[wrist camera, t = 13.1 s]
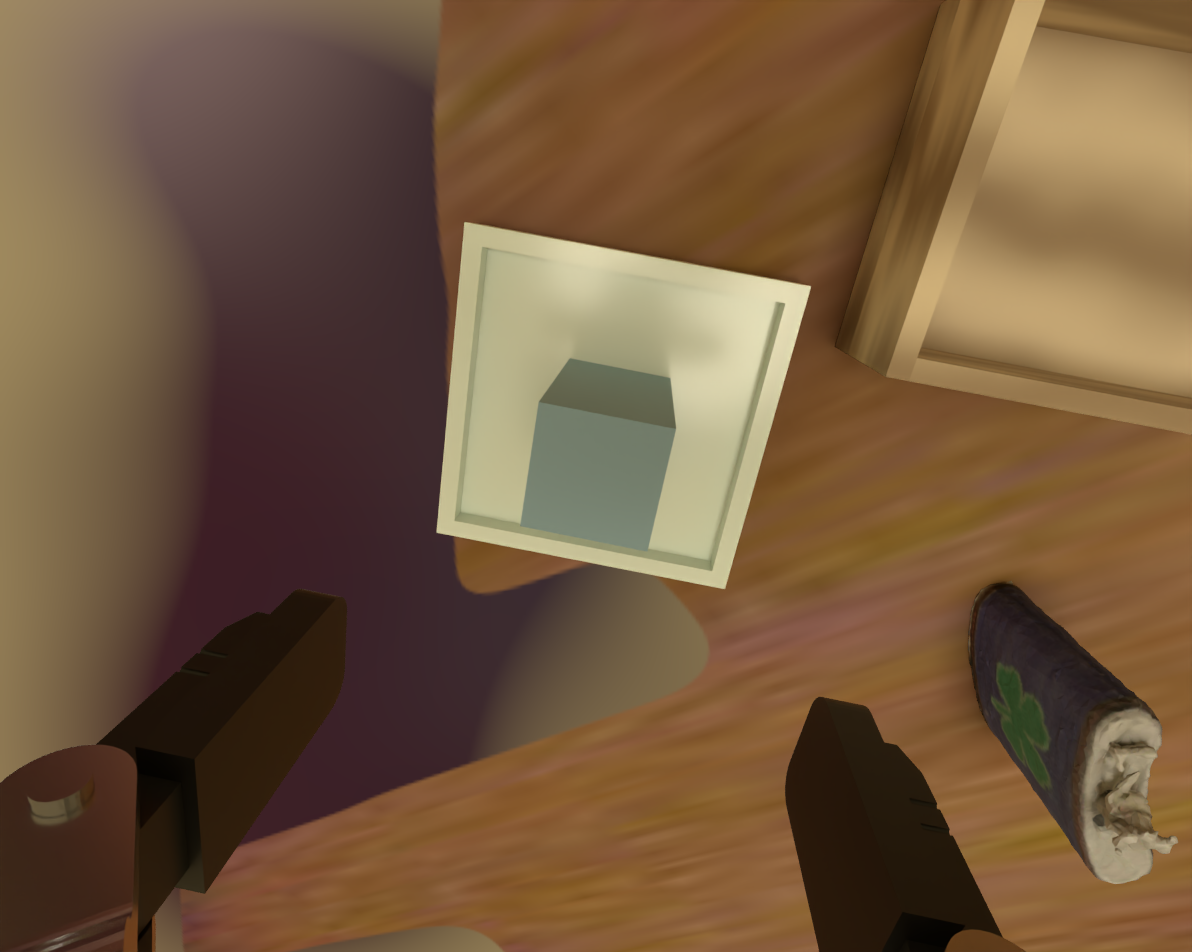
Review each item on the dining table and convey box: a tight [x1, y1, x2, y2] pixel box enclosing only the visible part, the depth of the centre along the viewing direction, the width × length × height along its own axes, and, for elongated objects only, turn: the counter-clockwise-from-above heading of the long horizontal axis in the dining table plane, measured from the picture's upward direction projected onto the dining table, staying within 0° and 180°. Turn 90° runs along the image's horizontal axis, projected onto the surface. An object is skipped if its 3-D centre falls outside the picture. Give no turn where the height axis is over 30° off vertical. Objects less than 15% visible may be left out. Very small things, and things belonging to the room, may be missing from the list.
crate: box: [835, 0, 1192, 435], centre depth 22 cm, size 13×16×6 cm
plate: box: [437, 222, 811, 589], centre depth 29 cm, size 14×14×2 cm
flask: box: [968, 581, 1178, 884], centre depth 27 cm, size 9×3×11 cm, turn 14°
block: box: [520, 358, 676, 552], centre depth 25 cm, size 4×4×8 cm
